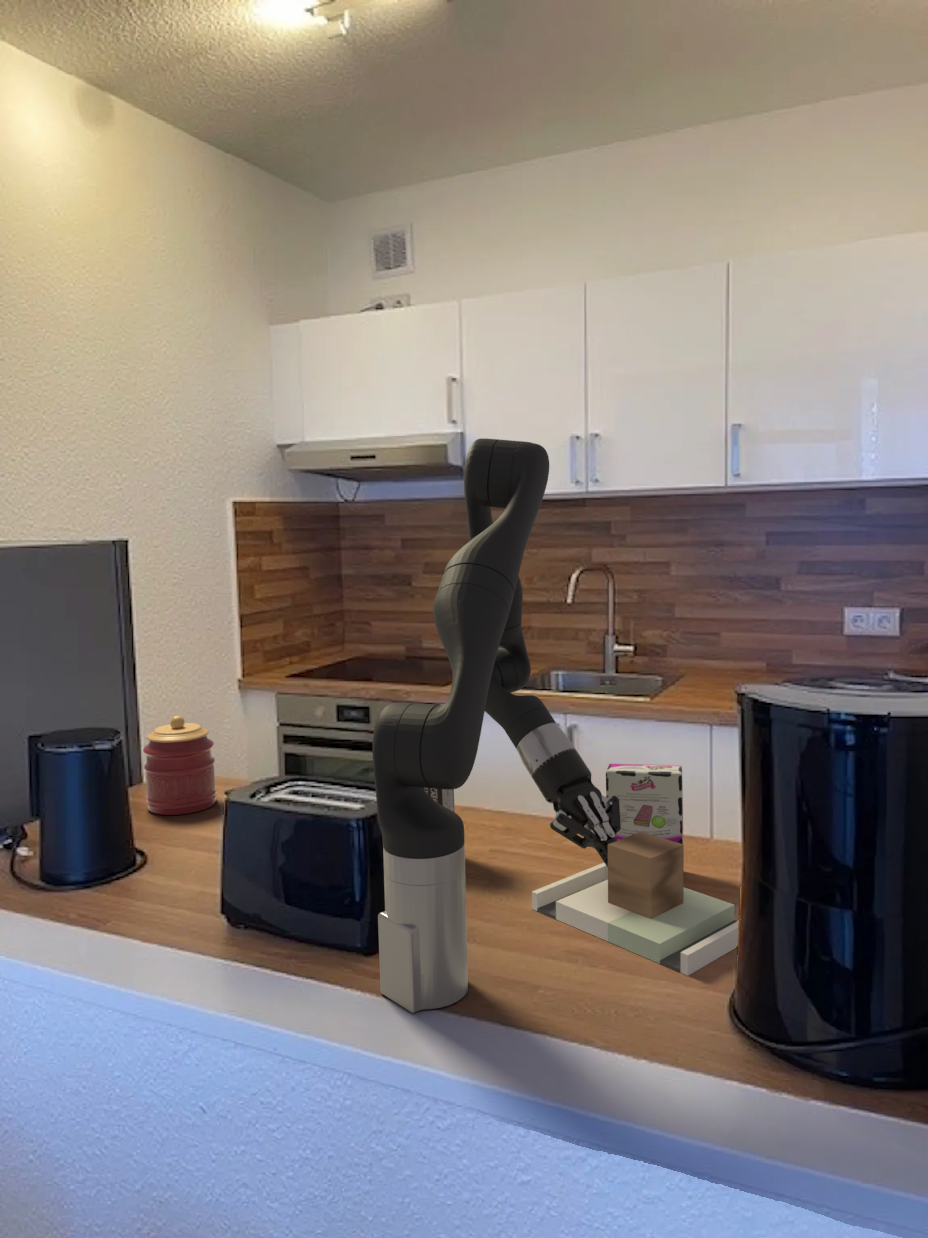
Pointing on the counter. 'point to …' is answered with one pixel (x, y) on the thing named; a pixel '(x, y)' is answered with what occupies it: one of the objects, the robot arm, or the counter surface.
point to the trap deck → (643, 921)
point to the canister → (179, 769)
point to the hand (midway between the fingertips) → (620, 867)
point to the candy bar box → (648, 799)
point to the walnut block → (646, 874)
